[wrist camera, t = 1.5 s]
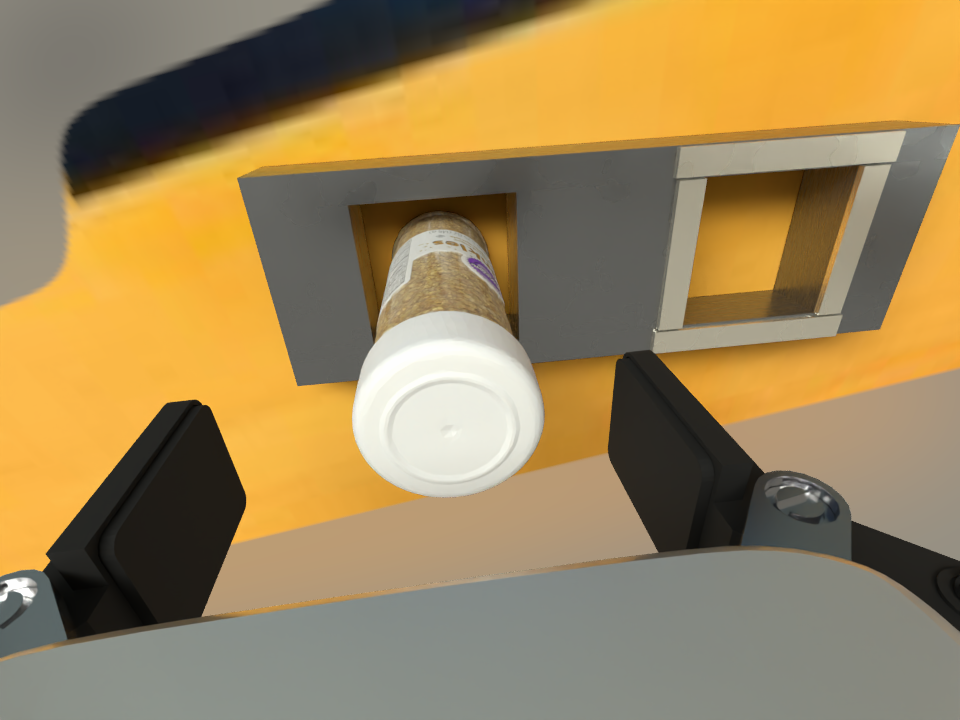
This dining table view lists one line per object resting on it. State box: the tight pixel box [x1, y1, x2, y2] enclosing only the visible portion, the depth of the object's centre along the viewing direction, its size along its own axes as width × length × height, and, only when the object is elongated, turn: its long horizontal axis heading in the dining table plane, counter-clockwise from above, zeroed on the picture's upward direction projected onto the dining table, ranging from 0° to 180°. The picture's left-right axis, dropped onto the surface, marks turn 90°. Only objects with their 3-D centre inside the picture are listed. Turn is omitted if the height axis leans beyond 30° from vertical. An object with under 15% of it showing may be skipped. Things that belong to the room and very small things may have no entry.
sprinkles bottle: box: [352, 211, 544, 498], centre depth 17 cm, size 5×5×14 cm
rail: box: [237, 121, 960, 386], centre depth 22 cm, size 28×9×3 cm, turn 93°
